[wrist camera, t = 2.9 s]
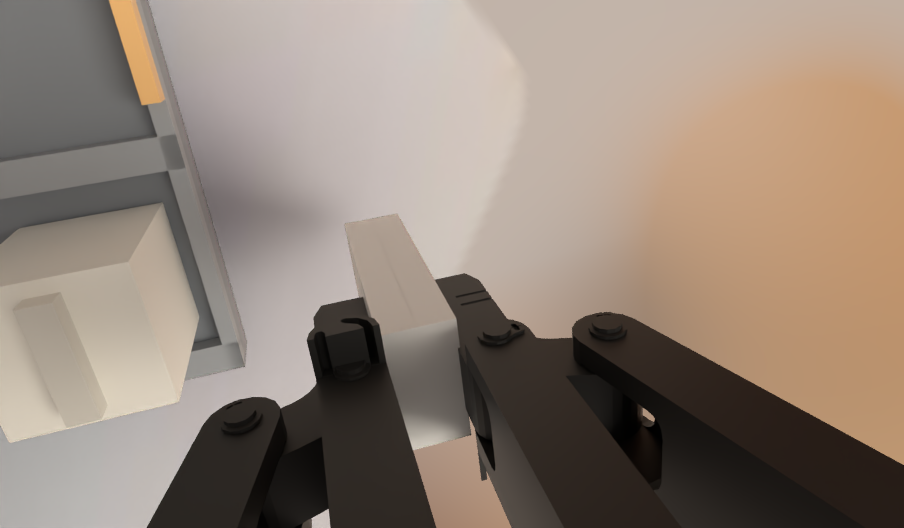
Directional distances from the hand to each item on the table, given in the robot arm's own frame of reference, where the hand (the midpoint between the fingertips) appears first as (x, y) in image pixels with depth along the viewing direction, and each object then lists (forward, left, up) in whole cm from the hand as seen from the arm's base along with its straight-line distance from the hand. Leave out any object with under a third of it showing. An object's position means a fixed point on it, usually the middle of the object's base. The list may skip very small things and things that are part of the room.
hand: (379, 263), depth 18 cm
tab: (-8, 0, -4) cm, 9 cm away
